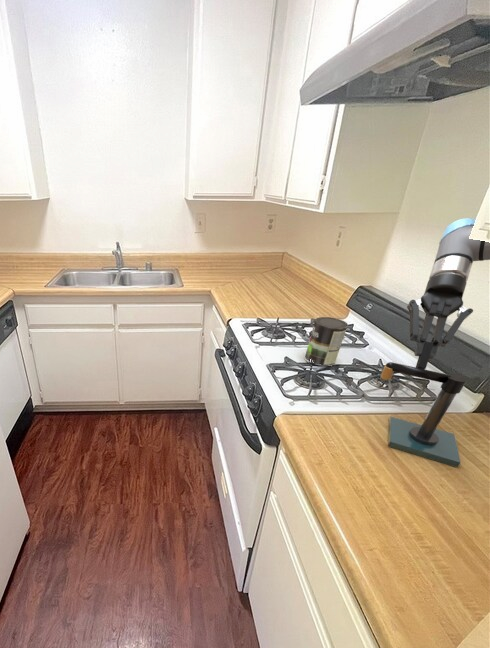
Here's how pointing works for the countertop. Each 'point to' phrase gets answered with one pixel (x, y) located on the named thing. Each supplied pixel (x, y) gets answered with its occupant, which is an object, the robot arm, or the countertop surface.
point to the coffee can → (325, 340)
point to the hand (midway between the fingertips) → (420, 369)
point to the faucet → (426, 434)
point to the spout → (426, 376)
